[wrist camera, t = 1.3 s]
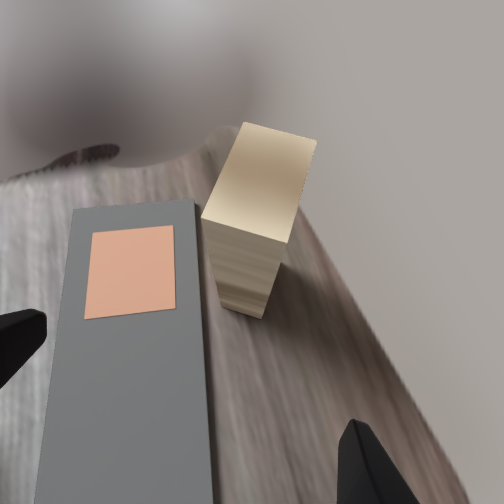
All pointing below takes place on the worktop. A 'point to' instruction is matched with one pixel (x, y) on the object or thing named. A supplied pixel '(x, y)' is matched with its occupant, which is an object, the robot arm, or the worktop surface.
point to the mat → (129, 363)
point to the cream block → (254, 214)
